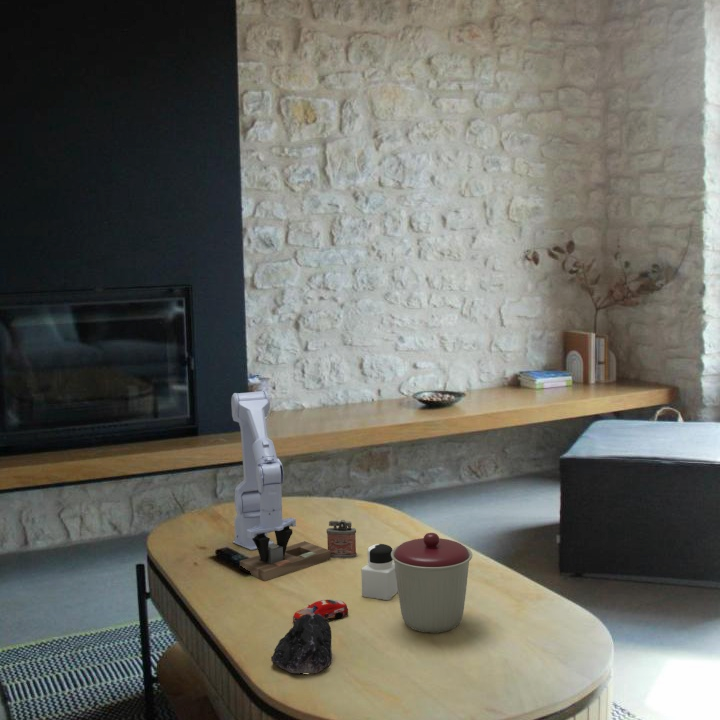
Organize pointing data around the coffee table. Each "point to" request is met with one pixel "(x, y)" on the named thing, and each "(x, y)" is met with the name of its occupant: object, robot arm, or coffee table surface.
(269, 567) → the socket board
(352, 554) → the lighter
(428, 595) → the canister
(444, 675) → the coffee table surface
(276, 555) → the plug
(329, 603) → the race car
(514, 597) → the coffee table surface
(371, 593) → the medicine bottle
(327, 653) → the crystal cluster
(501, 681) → the coffee table surface
